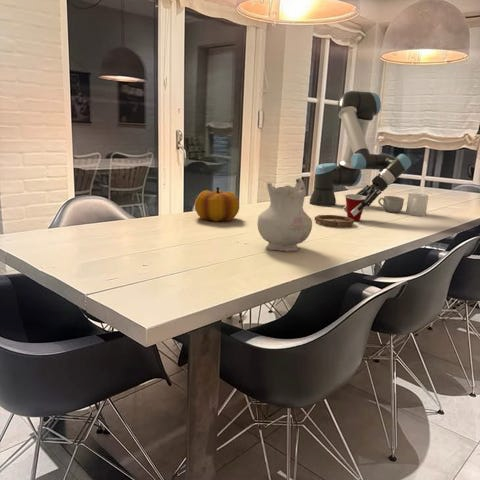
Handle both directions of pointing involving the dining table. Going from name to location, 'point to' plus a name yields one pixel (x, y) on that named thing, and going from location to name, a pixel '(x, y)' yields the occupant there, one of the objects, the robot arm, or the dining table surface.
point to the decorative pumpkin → (217, 205)
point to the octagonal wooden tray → (334, 221)
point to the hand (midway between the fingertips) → (348, 212)
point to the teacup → (392, 203)
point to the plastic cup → (354, 205)
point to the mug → (417, 204)
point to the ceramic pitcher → (285, 218)
